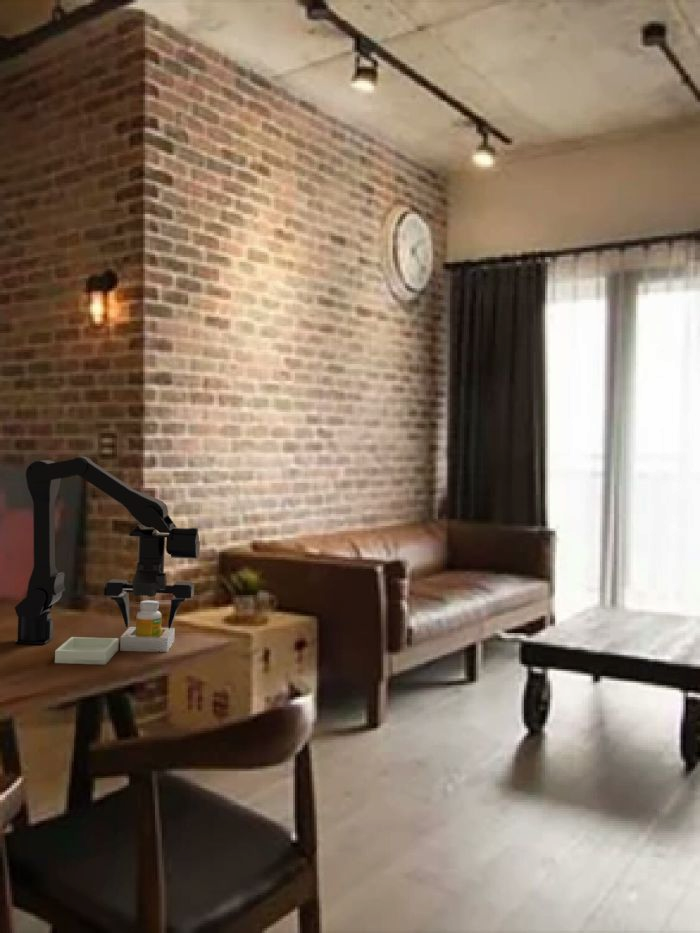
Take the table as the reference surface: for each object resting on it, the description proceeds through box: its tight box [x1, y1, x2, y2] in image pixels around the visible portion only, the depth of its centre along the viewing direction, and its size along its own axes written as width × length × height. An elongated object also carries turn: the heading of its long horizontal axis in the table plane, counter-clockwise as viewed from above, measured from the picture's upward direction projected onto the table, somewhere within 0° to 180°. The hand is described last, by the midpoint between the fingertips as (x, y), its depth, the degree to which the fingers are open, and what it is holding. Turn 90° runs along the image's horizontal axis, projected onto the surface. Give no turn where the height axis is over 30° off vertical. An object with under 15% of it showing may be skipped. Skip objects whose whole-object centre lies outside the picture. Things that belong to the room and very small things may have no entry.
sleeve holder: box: [119, 626, 176, 653], centre depth 191 cm, size 10×10×3 cm
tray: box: [54, 636, 120, 665], centre depth 180 cm, size 10×12×2 cm
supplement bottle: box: [135, 600, 162, 636], centre depth 191 cm, size 5×5×10 cm
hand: (148, 627), depth 191 cm, fingers open, 9 cm apart
